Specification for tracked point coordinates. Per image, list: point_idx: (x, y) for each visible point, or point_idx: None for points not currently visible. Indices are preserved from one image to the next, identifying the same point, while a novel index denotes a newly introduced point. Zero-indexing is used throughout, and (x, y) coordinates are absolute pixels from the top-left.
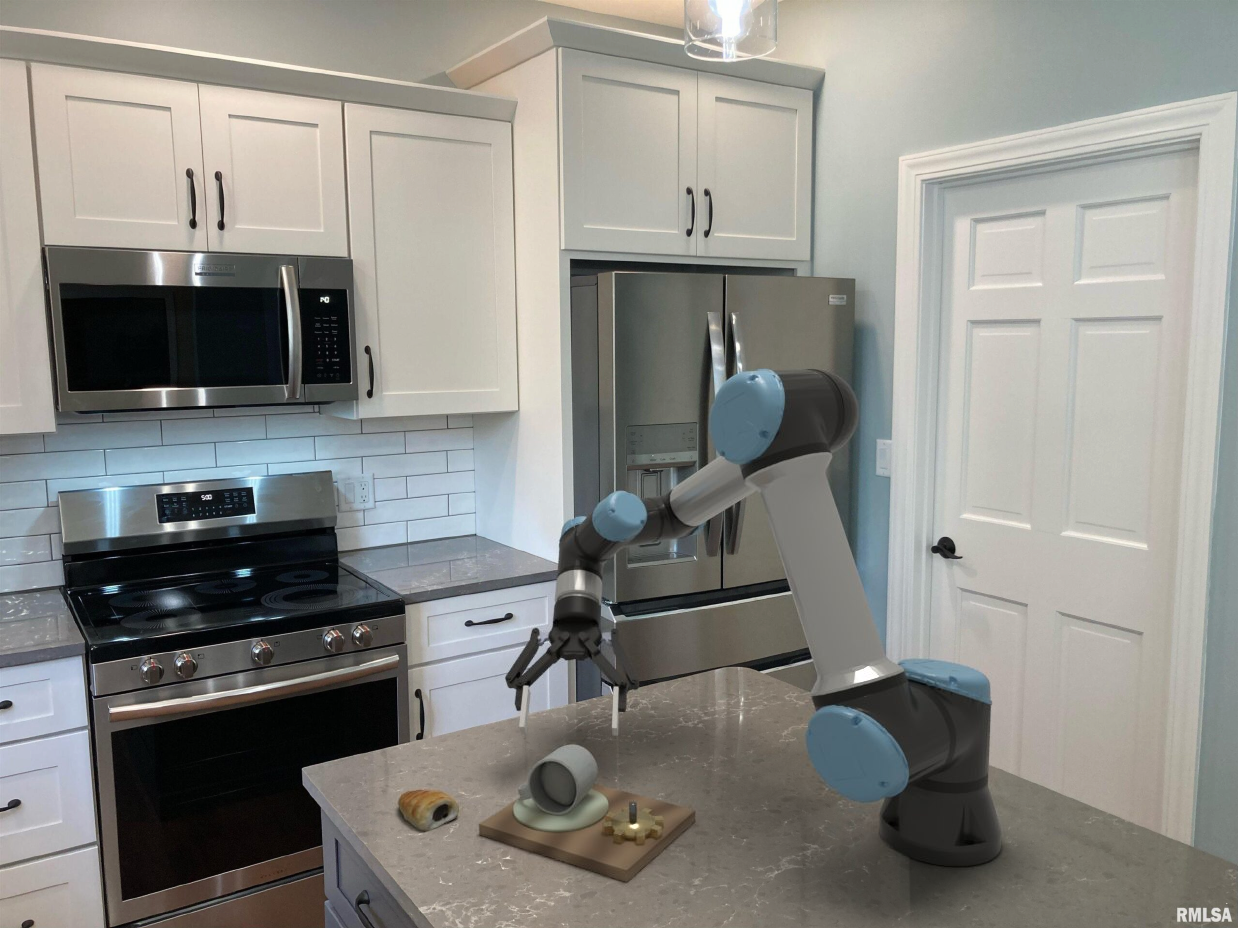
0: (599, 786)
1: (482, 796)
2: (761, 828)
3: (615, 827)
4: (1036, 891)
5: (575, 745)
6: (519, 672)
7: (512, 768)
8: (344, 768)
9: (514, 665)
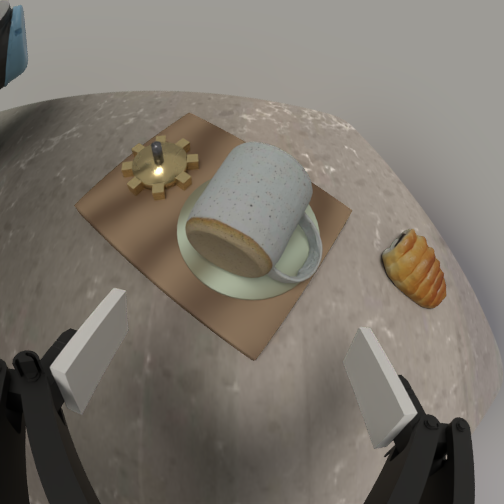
0: (181, 297)
1: (364, 320)
2: (34, 193)
3: (184, 150)
4: None
5: (229, 217)
6: (438, 471)
7: (330, 420)
8: (490, 386)
9: (469, 462)
